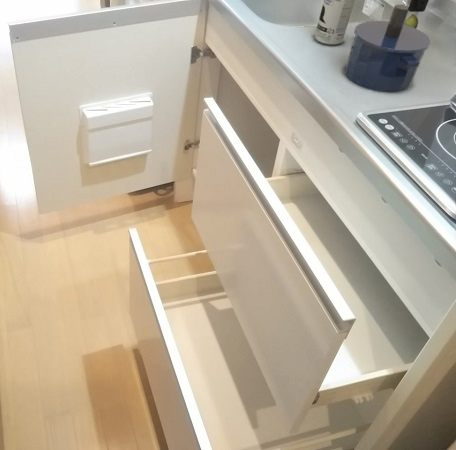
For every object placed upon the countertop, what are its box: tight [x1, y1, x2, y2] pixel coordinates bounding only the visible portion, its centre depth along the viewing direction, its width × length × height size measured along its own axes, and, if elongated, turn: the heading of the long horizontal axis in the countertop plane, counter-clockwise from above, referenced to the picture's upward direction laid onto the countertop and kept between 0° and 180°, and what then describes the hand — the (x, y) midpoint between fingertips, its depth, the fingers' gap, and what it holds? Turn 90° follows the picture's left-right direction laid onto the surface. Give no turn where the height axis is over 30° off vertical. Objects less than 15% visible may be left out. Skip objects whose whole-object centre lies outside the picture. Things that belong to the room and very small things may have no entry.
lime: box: [404, 13, 419, 29], centre depth 127 cm, size 4×5×5 cm
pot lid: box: [353, 4, 431, 53], centre depth 103 cm, size 15×15×7 cm
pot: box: [344, 35, 426, 93], centre depth 108 cm, size 14×19×8 cm
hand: (402, 1), depth 100 cm, fingers open, 9 cm apart
